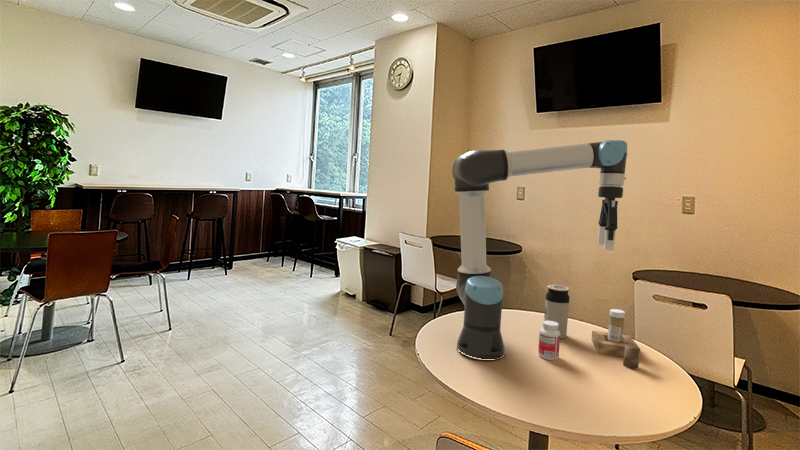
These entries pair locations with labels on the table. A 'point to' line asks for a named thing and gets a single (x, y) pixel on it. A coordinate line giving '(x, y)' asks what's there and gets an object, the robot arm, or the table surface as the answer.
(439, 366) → the table surface
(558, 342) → the pill bottle
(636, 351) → the walnut stub
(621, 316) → the sprinkles bottle
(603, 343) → the oak collar
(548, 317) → the travel mug
